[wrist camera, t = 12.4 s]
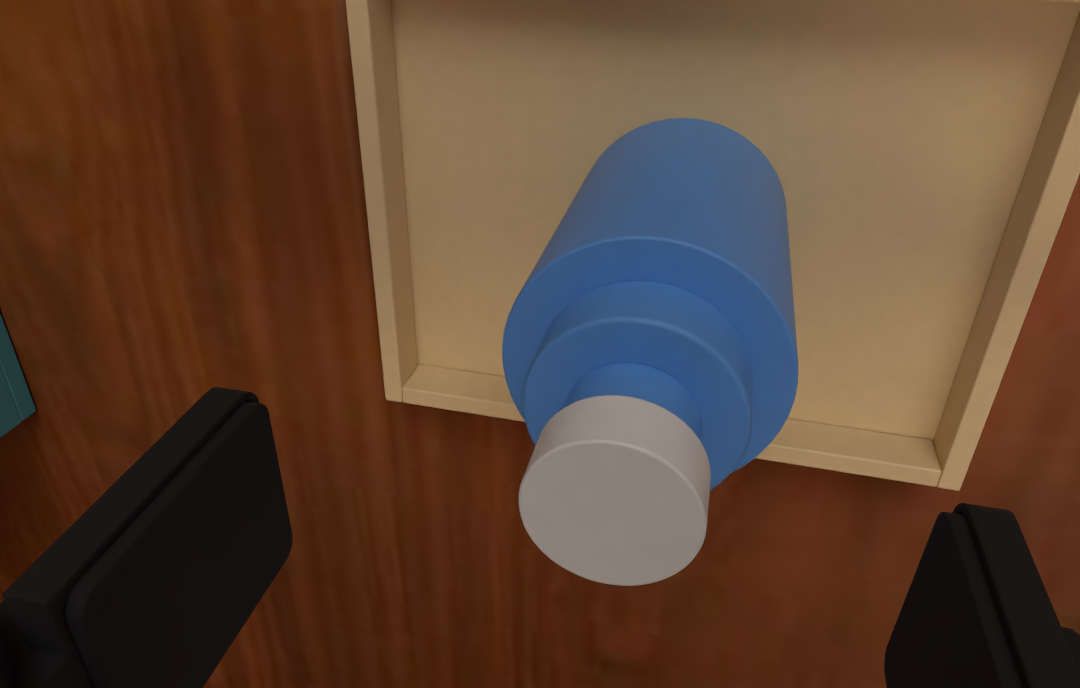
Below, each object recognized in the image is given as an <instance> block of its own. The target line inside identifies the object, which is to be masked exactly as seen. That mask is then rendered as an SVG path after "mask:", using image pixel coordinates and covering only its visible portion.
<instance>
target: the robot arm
mask: <svg viewBox="0 0 1080 688" xmlns="http://www.w3.org/2000/svg"><path fill="white" fill-rule="evenodd" d="M291 546H292V530H291V525H290V520H289V515H288V510H287V505H286V500H285V494H284V489H283V484H282V479H281V474H280V469H279V464H278V459H277V453H276V448H275V443H274V438H273V433H272V428H271V423H270V417H269V412H268V409H267V407H266V406H265V405H263V404H260V403H259V400H258V398H257V396H256V395H255V394H253V393H251V392H245V391H239V390H232V389H226V388H220V387H216V388H212V389H211V390H209V391H208V392H207V393H206V394H204V395H203V396H202V397H201V398H200V399H199V400H198V401H197V402H196V403H195V404H194V405H193V406H192V407H191V408H190V409H189V410H188V411H187V412H186V413H185V414H184V415H183V416H182V417H181V418H180V419H179V420H178V421H177V422H176V423H175V424H174V425H173V426H172V427H171V428H170V429H169V430H168V431H167V432H166V433H165V434H164V435H163V436H162V437H161V438H160V439H159V440H158V441H157V442H156V443H155V444H154V445H153V446H152V447H151V448H150V449H149V450H148V451H147V452H146V453H145V454H144V455H143V456H142V457H141V458H140V459H139V460H138V461H137V462H136V463H135V464H134V465H133V466H132V467H131V468H129V469H128V470H127V471H126V472H125V473H124V474H123V475H122V476H121V477H120V478H119V479H118V480H117V481H116V482H115V483H114V484H113V485H112V486H111V487H110V488H109V489H108V490H107V491H106V492H105V493H104V494H103V495H102V496H101V497H100V498H99V499H98V500H97V501H96V502H95V503H94V504H93V505H92V506H91V507H90V508H89V509H88V510H87V511H86V512H85V513H84V514H83V515H82V516H81V517H80V518H79V519H78V520H77V521H76V522H75V523H74V524H73V525H72V526H71V527H70V528H69V529H68V530H67V531H66V532H65V533H64V534H63V535H62V536H61V537H60V538H59V539H58V540H57V541H56V542H55V543H53V544H52V545H51V546H50V547H49V548H48V549H47V550H46V551H45V552H44V553H43V554H42V555H41V556H40V557H39V558H38V559H37V560H36V561H35V562H34V563H33V564H32V565H31V566H30V567H29V568H28V569H27V570H26V571H25V572H24V573H23V574H22V575H21V576H20V577H19V578H18V579H17V580H16V581H15V582H14V583H13V584H12V585H11V586H10V587H9V588H8V589H7V590H6V591H5V592H4V593H3V594H2V596H3V598H4V601H3V602H2V603H1V604H0V688H203V686H204V685H205V683H206V682H207V680H208V679H209V677H210V676H211V674H212V673H213V671H214V670H215V668H216V666H217V665H218V663H219V662H220V660H221V659H222V657H223V656H224V654H225V653H226V651H227V650H228V648H229V647H230V645H231V644H232V642H233V641H234V639H235V638H236V636H237V634H238V633H239V631H240V630H241V628H242V627H243V625H244V624H245V622H246V621H247V619H248V618H249V616H250V615H251V613H252V612H253V610H254V609H255V607H256V605H257V604H258V602H259V601H260V599H261V598H262V596H263V595H264V593H265V592H266V590H267V589H268V587H269V586H270V584H271V583H272V581H273V580H274V578H275V577H276V575H277V573H278V572H279V570H280V569H281V567H282V566H283V564H284V563H285V561H286V559H287V558H288V556H289V553H290V550H291ZM884 665H885V678H886V684H887V688H1080V636H1079V635H1078V634H1077V633H1076V632H1075V631H1074V630H1073V629H1068V628H1063V627H1061V626H1060V623H1059V621H1058V619H1057V616H1056V614H1055V611H1054V609H1053V607H1052V604H1051V602H1050V599H1049V597H1048V595H1047V592H1046V590H1045V587H1044V585H1043V582H1042V580H1041V578H1040V575H1039V573H1038V570H1037V568H1036V566H1035V563H1034V561H1033V558H1032V556H1031V554H1030V551H1029V549H1028V546H1027V544H1026V541H1025V539H1024V537H1023V534H1022V532H1021V529H1020V527H1019V525H1018V522H1017V520H1016V518H1015V516H1014V515H1013V513H1012V512H1010V511H1009V510H1003V509H997V508H990V507H984V506H977V505H971V504H965V503H961V504H958V505H957V506H956V507H955V509H954V511H953V513H948V512H941V513H940V514H939V515H938V517H937V519H936V522H935V524H934V527H933V529H932V532H931V534H930V537H929V540H928V542H927V545H926V547H925V550H924V553H923V555H922V558H921V560H920V563H919V565H918V568H917V571H916V573H915V576H914V578H913V581H912V583H911V586H910V589H909V591H908V594H907V596H906V599H905V601H904V604H903V607H902V609H901V612H900V614H899V617H898V619H897V622H896V625H895V627H894V630H893V632H892V635H891V637H890V640H889V643H888V645H887V649H886V654H885V664H884Z"/></svg>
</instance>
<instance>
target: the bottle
mask: <svg viewBox="0 0 1080 688" xmlns="http://www.w3.org/2000/svg"><path fill="white" fill-rule="evenodd" d="M502 363H503V369H504V374H505V380H506V383H507V386H508V389H509V392H510V395H511V397H512V399H513V401H514V403H515V405H516V408H517V410H518V411H519V413H520V414H521V416H522V417H523V419H524V421H525V423H526V426H527V429H528V432H529V435H530V437H531V439H532V441H533V443H534V445H535V449H534V451H533V454H532V456H531V459H530V461H529V464H528V466H527V469H526V471H525V474H524V476H523V479H522V482H521V485H520V489H519V496H518V499H519V510H520V515H521V519H522V522H523V524H524V527H525V529H526V531H527V533H528V534H529V536H530V537H531V539H532V540H533V542H534V543H535V544H536V545H537V547H538V548H539V549H540V550H541V551H542V552H543V553H544V554H545V555H546V556H547V557H549V558H550V559H551V560H552V561H554V562H555V563H557V564H558V565H559V566H561V567H563V568H564V569H566V570H568V571H570V572H572V573H574V574H576V575H578V576H581V577H584V578H586V579H589V580H592V581H596V582H600V583H605V584H611V585H621V586H635V585H644V584H649V583H654V582H658V581H661V580H663V579H666V578H668V577H670V576H672V575H674V574H676V573H678V572H679V571H681V570H682V569H684V568H685V567H686V566H687V565H688V564H689V563H690V562H691V561H692V560H693V559H694V557H695V556H696V555H697V554H698V552H699V550H700V548H701V546H702V545H703V542H704V538H705V535H706V528H707V517H708V505H709V493H710V490H712V489H713V488H714V487H716V486H717V485H718V484H720V483H721V482H722V481H723V480H724V479H725V478H726V477H727V476H729V475H730V474H731V473H732V472H734V471H736V470H737V469H739V468H741V467H743V466H745V465H746V464H747V463H749V462H750V461H751V460H753V459H754V458H755V457H757V456H758V455H759V454H760V453H761V452H762V451H763V450H764V449H765V448H766V447H767V446H768V445H769V444H770V443H771V442H772V441H773V440H774V438H775V437H776V436H777V434H778V433H779V432H780V430H781V429H782V427H783V425H784V423H785V422H786V420H787V418H788V416H789V414H790V411H791V409H792V406H793V403H794V400H795V396H796V391H797V386H798V353H797V340H796V327H795V313H794V300H793V287H792V274H791V261H790V248H789V234H788V221H787V209H786V201H785V195H784V192H783V188H782V185H781V182H780V180H779V178H778V176H777V173H776V171H775V170H774V168H773V167H772V165H771V163H770V162H769V160H768V159H767V158H766V157H765V155H764V154H763V153H762V152H761V151H760V150H759V149H758V148H757V147H756V146H755V145H754V144H753V143H752V142H750V141H749V140H748V139H746V138H745V137H743V136H742V135H740V134H739V133H737V132H735V131H733V130H731V129H729V128H727V127H725V126H723V125H720V124H717V123H714V122H711V121H705V120H700V119H692V118H673V119H665V120H660V121H655V122H651V123H648V124H646V125H643V126H640V127H638V128H636V129H634V130H632V131H630V132H628V133H626V134H625V135H623V136H622V137H620V138H619V139H617V140H616V141H615V142H614V143H613V144H611V145H610V146H609V147H608V148H607V149H606V150H605V151H604V152H603V153H602V155H601V156H600V157H599V158H598V159H597V161H596V162H595V164H594V165H593V167H592V169H591V170H590V172H589V174H588V175H587V177H586V179H585V180H584V182H583V184H582V186H581V187H580V189H579V191H578V193H577V194H576V196H575V198H574V199H573V201H572V203H571V205H570V206H569V208H568V210H567V212H566V213H565V215H564V217H563V218H562V220H561V222H560V224H559V225H558V227H557V229H556V231H555V232H554V234H553V236H552V238H551V239H550V241H549V243H548V244H547V246H546V248H545V250H544V251H543V253H542V255H541V257H540V258H539V260H538V262H537V263H536V265H535V267H534V269H533V270H532V272H531V274H530V276H529V277H528V279H527V281H526V282H525V284H524V286H523V288H522V289H521V291H520V293H519V295H518V296H517V298H516V300H515V302H514V304H513V306H512V308H511V311H510V313H509V315H508V318H507V322H506V325H505V329H504V334H503V343H502Z"/></svg>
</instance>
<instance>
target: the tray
mask: <svg viewBox="0 0 1080 688" xmlns="http://www.w3.org/2000/svg"><path fill="white" fill-rule="evenodd" d="M346 10H347V20H348V30H349V40H350V50H351V60H352V70H353V79H354V89H355V99H356V109H357V119H358V129H359V139H360V149H361V159H362V169H363V178H364V188H365V198H366V208H367V218H368V228H369V238H370V248H371V258H372V268H373V277H374V287H375V297H376V307H377V317H378V327H379V337H380V347H381V357H382V367H383V376H384V386H385V396H386V400H390V401H396V402H404V403H409V404H415V405H421V406H428V407H434V408H440V409H447V410H453V411H459V412H466V413H472V414H478V415H485V416H491V417H497V418H504V419H510V420H516V421H523V422H525V421H524V419H523V417H522V416H521V414H520V413H519V411H518V410H517V408H516V405H515V403H514V401H513V399H512V397H511V395H510V392H509V389H508V386H507V383H506V380H505V374H504V369H503V363H502V343H503V334H504V329H505V325H506V322H507V318H508V315H509V313H510V311H511V308H512V306H513V304H514V302H515V300H516V298H517V296H518V295H519V293H520V291H521V289H522V288H523V286H524V284H525V282H526V281H527V279H528V277H529V276H530V274H531V272H532V270H533V269H534V267H535V265H536V263H537V262H538V260H539V258H540V257H541V255H542V253H543V251H544V250H545V248H546V246H547V244H548V243H549V241H550V239H551V238H552V236H553V234H554V232H555V231H556V229H557V227H558V225H559V224H560V222H561V220H562V218H563V217H564V215H565V213H566V212H567V210H568V208H569V206H570V205H571V203H572V201H573V199H574V198H575V196H576V194H577V193H578V191H579V189H580V187H581V186H582V184H583V182H584V180H585V179H586V177H587V175H588V174H589V172H590V170H591V169H592V167H593V165H594V164H595V162H596V161H597V159H598V158H599V157H600V156H601V155H602V153H603V152H604V151H605V150H606V149H607V148H608V147H609V146H610V145H611V144H613V143H614V142H615V141H616V140H617V139H619V138H620V137H622V136H623V135H625V134H626V133H628V132H630V131H632V130H634V129H636V128H638V127H640V126H643V125H646V124H648V123H651V122H655V121H660V120H665V119H673V118H692V119H700V120H705V121H711V122H714V123H717V124H720V125H723V126H725V127H727V128H729V129H731V130H733V131H735V132H737V133H739V134H740V135H742V136H743V137H745V138H746V139H748V140H749V141H750V142H752V143H753V144H754V145H755V146H756V147H757V148H758V149H759V150H760V151H761V152H762V153H763V154H764V155H765V157H766V158H767V159H768V160H769V162H770V163H771V165H772V167H773V168H774V170H775V171H776V173H777V176H778V178H779V180H780V182H781V185H782V188H783V192H784V195H785V201H786V209H787V221H788V234H789V248H790V261H791V274H792V287H793V300H794V313H795V327H796V340H797V353H798V386H797V391H796V396H795V400H794V403H793V406H792V409H791V411H790V414H789V416H788V418H787V420H786V422H785V423H784V425H783V427H782V429H781V430H780V432H779V433H778V434H777V436H776V437H775V438H774V440H773V441H772V442H771V443H770V444H769V445H768V446H767V447H766V448H765V449H764V450H763V451H762V452H761V453H760V454H759V455H758V456H757V457H755V458H757V459H763V460H769V461H776V462H782V463H788V464H795V465H801V466H807V467H814V468H820V469H826V470H833V471H839V472H845V473H852V474H858V475H864V476H870V477H877V478H883V479H889V480H896V481H902V482H908V483H915V484H921V485H927V486H934V487H935V486H937V487H939V488H944V489H950V490H957V491H959V490H960V488H961V485H962V483H963V480H964V477H965V475H966V472H967V469H968V467H969V464H970V461H971V459H972V456H973V454H974V451H975V448H976V446H977V443H978V440H979V438H980V435H981V432H982V430H983V427H984V424H985V422H986V419H987V417H988V414H989V411H990V409H991V406H992V403H993V401H994V398H995V395H996V393H997V390H998V388H999V385H1000V382H1001V380H1002V377H1003V374H1004V372H1005V369H1006V366H1007V364H1008V361H1009V359H1010V356H1011V353H1012V351H1013V348H1014V345H1015V343H1016V340H1017V337H1018V335H1019V332H1020V329H1021V327H1022V324H1023V322H1024V319H1025V316H1026V314H1027V311H1028V308H1029V306H1030V303H1031V300H1032V298H1033V295H1034V293H1035V290H1036V287H1037V285H1038V282H1039V279H1040V277H1041V274H1042V271H1043V269H1044V266H1045V264H1046V261H1047V258H1048V256H1049V253H1050V250H1051V248H1052V245H1053V242H1054V240H1055V237H1056V234H1057V232H1058V229H1059V227H1060V224H1061V221H1062V219H1063V216H1064V213H1065V211H1066V208H1067V205H1068V203H1069V200H1070V198H1071V195H1072V192H1073V190H1074V187H1075V184H1076V182H1077V179H1078V176H1079V174H1080V0H346Z"/></svg>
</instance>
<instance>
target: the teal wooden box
mask: <svg viewBox="0 0 1080 688" xmlns="http://www.w3.org/2000/svg"><path fill="white" fill-rule="evenodd" d="M35 411H36V408H35V405H34V402H33V400H32V397H31V394H30V392H29V389H28V386H27V383H26V381H25V378H24V375H23V373H22V370H21V367H20V365H19V362H18V359H17V357H16V354H15V351H14V348H13V346H12V343H11V340H10V338H9V335H8V332H7V330H6V327H5V324H4V322H3V319H2V316H1V313H0V438H1V437H2V436H3V435H5V434H6V433H7V432H9V431H10V430H12V429H13V428H14V427H16V426H17V425H18V424H20V423H21V422H22V421H23V420H25V419H26V418H27V417H29V416H30V415H31V414H33V413H34V412H35Z"/></svg>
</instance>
